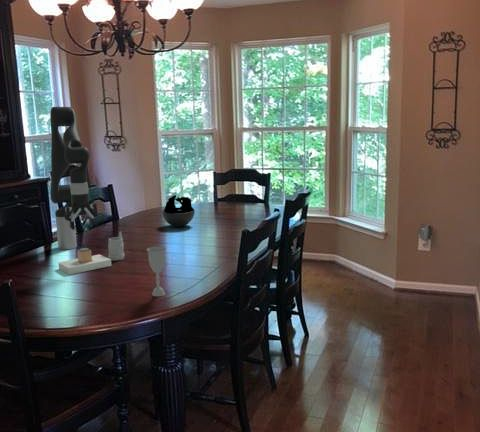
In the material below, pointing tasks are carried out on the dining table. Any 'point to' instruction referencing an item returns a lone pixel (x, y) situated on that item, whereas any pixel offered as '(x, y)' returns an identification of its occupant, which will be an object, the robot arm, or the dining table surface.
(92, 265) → the socket plate
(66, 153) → the robot arm
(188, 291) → the dining table surface
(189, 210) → the coal bowl
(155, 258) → the chalice
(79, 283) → the dining table surface
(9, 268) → the dining table surface
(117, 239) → the mug
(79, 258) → the plug
